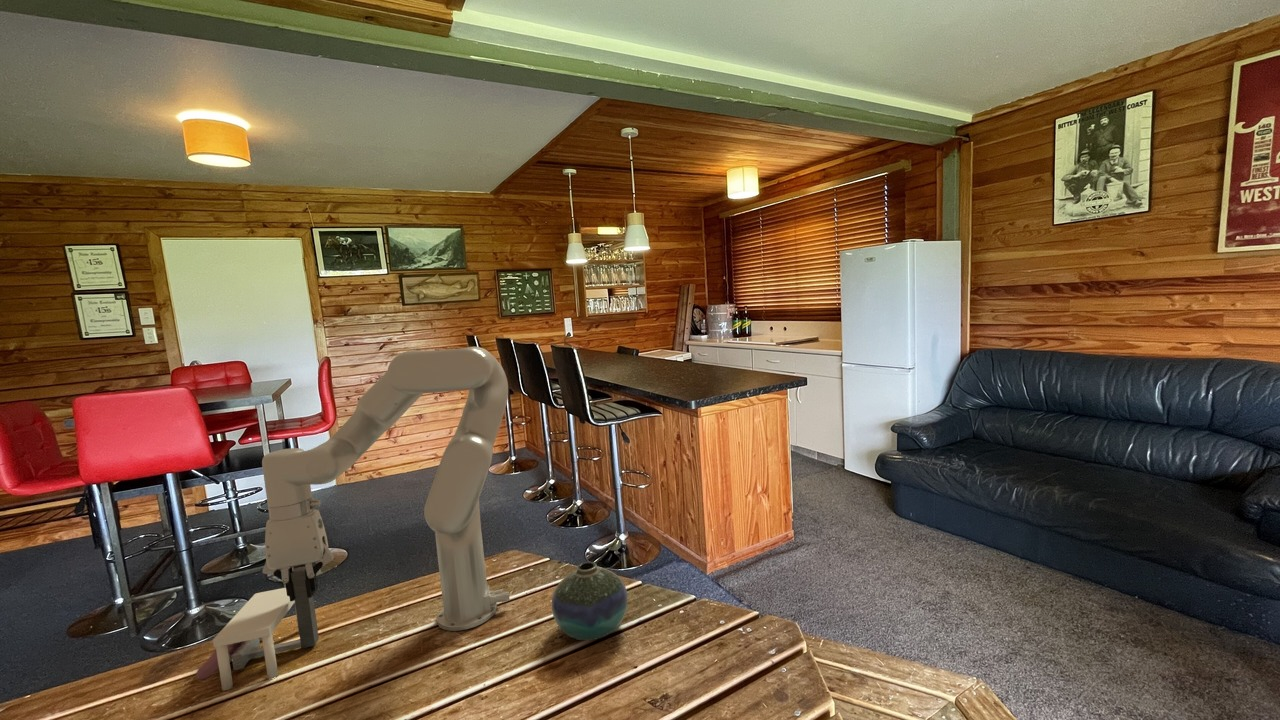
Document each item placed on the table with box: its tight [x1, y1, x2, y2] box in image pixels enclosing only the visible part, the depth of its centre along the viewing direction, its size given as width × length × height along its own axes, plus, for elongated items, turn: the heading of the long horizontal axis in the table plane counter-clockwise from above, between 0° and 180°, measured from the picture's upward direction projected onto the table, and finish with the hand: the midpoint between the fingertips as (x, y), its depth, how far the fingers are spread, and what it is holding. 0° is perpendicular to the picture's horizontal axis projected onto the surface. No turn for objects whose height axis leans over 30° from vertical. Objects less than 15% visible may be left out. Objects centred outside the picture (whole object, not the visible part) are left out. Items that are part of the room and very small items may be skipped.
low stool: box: [212, 587, 299, 692], centre depth 105 cm, size 9×18×10 cm, turn 16°
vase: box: [551, 561, 629, 641], centre depth 105 cm, size 15×15×13 cm
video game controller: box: [195, 641, 243, 681], centre depth 105 cm, size 10×5×7 cm, turn 9°
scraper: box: [231, 565, 320, 671], centre depth 106 cm, size 13×8×16 cm, turn 106°
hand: (303, 595), depth 107 cm, fingers closed on scraper, 2 cm apart
